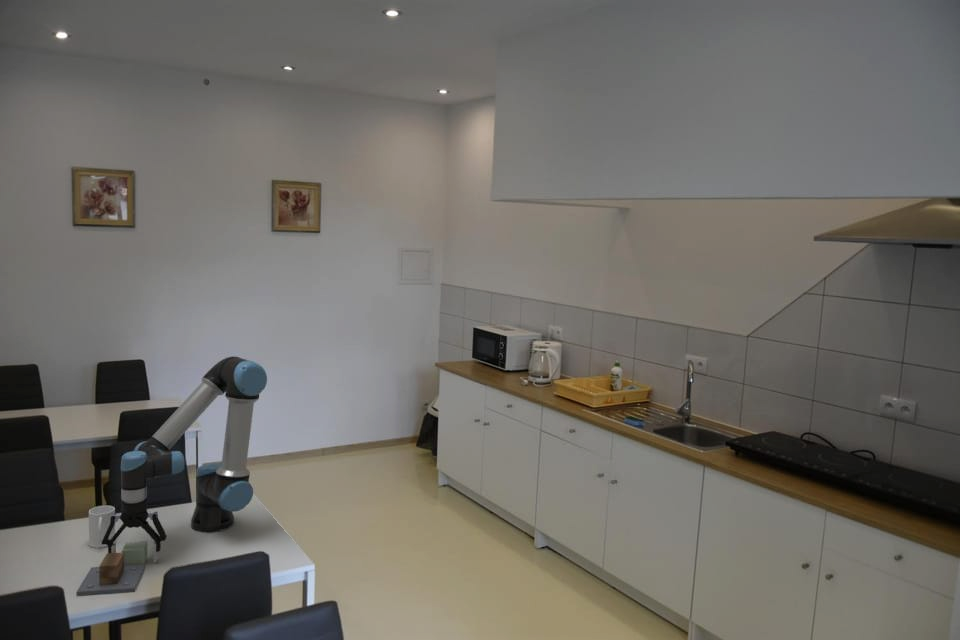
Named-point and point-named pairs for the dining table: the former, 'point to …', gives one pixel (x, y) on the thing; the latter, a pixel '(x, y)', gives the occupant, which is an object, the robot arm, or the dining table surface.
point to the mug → (100, 525)
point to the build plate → (125, 584)
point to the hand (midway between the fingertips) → (134, 562)
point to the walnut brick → (111, 568)
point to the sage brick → (135, 553)
